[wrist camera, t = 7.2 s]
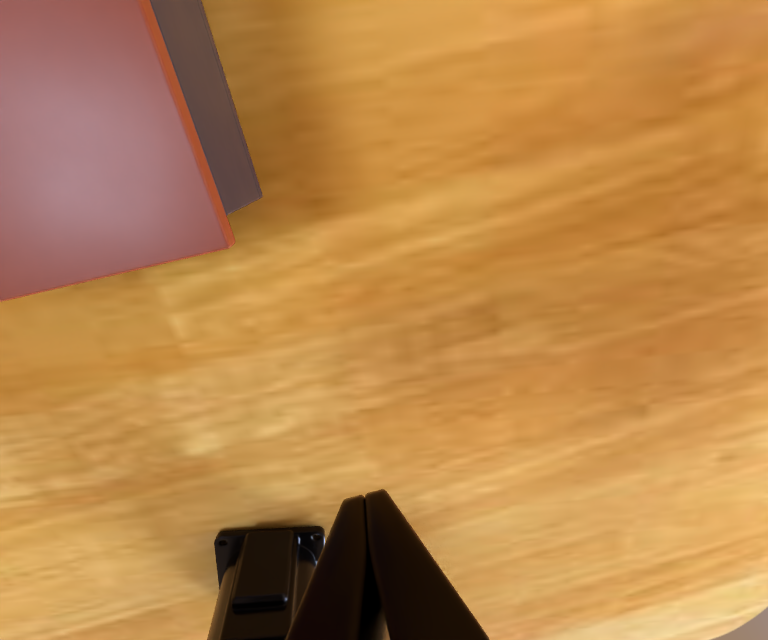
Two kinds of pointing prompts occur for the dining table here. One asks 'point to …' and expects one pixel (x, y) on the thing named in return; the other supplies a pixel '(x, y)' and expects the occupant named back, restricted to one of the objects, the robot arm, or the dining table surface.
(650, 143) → the dining table surface
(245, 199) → the box
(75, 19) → the lid
